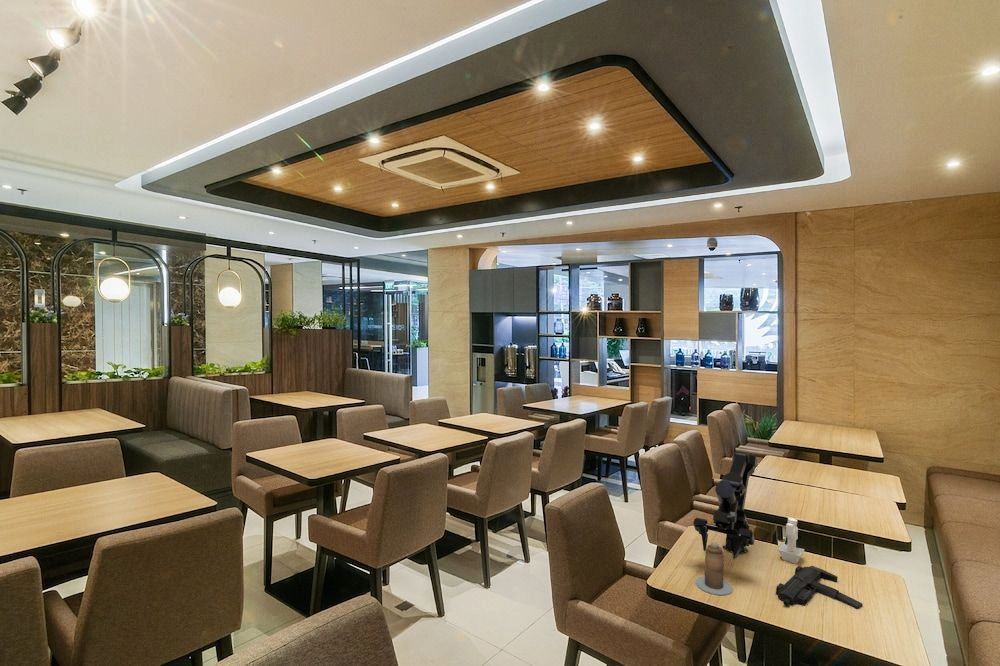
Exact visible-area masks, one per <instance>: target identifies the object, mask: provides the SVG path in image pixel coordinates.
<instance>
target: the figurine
mask: <svg viewBox="0 0 1000 666" xmlns="http://www.w3.org/2000/svg"><path fill="white" fill-rule="evenodd" d="M797 525H798V520H797V519H796V518H793V517H787V523H786V524H785V536H786V538H787V543H781V545H780V546H779V548H778V549H777V551H778V552H779V555H780V557H781V559H782V560H783V561H786V562H789V563H791V564H792V563H793V564H796V565H797V564H798V562H799V561H800V559H801V557H802V556H803V554H804V551H805V550H806V549H804V548H801V547H797V540H798V539H799V537H798V536H799V535H798V534H799V528H798V526H797Z"/></svg>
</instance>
